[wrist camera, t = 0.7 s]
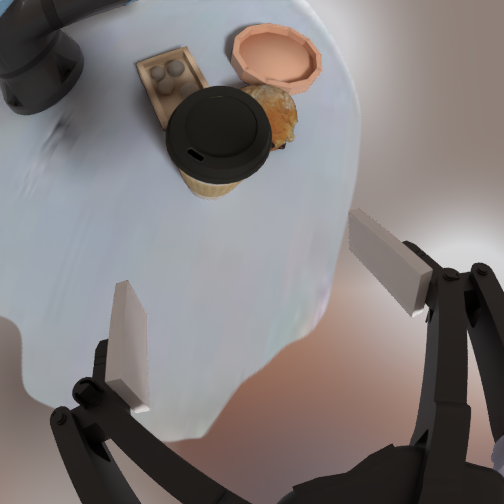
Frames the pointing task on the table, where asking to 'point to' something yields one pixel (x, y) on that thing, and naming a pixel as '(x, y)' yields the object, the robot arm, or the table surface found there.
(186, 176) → the coffee cup
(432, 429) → the robot arm
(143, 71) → the pebble tray
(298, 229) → the table surface
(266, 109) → the bread roll
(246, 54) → the dish
